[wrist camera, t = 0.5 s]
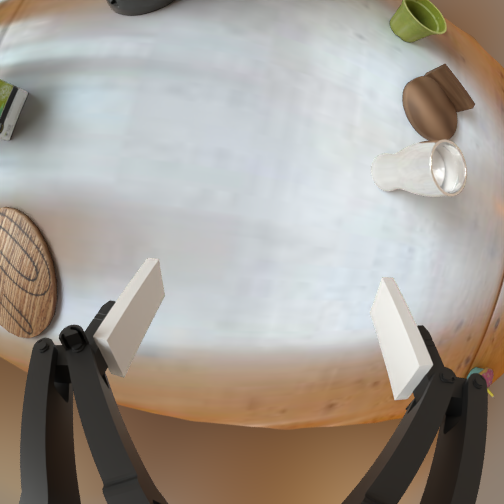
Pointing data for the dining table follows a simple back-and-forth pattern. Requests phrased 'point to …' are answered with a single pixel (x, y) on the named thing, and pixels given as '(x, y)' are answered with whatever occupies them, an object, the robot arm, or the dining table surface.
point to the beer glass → (422, 169)
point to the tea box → (10, 107)
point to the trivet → (25, 276)
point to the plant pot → (417, 20)
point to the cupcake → (486, 373)
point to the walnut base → (435, 103)
